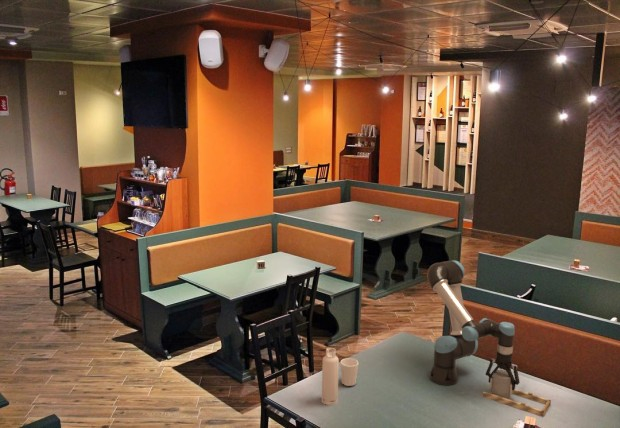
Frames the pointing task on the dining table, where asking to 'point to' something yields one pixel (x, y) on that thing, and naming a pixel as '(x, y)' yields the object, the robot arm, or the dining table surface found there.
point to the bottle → (330, 377)
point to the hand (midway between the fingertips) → (500, 391)
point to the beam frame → (522, 406)
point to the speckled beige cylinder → (501, 384)
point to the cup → (349, 371)
